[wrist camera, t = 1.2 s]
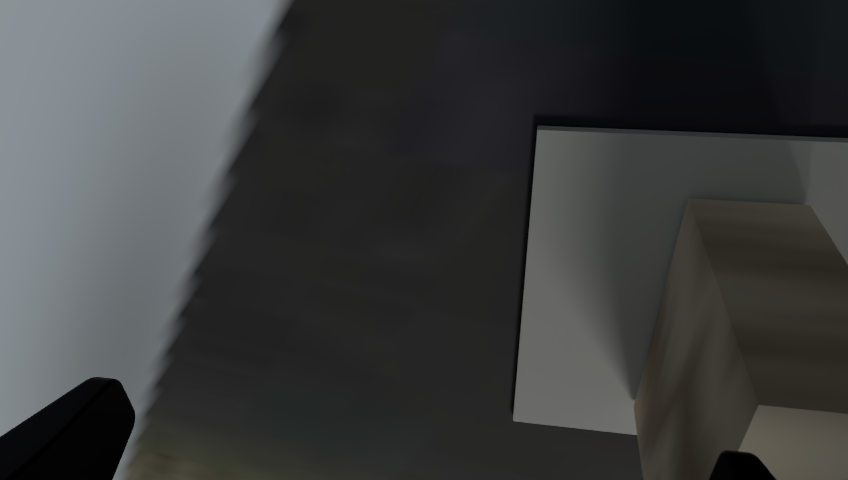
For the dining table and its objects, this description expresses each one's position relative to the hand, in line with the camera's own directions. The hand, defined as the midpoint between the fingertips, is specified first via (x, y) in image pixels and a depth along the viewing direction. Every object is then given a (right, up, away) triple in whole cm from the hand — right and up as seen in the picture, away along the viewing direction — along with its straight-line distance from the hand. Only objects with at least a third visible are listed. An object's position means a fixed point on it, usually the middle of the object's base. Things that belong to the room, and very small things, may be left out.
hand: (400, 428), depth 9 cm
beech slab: (+10, 0, +13) cm, 16 cm away
